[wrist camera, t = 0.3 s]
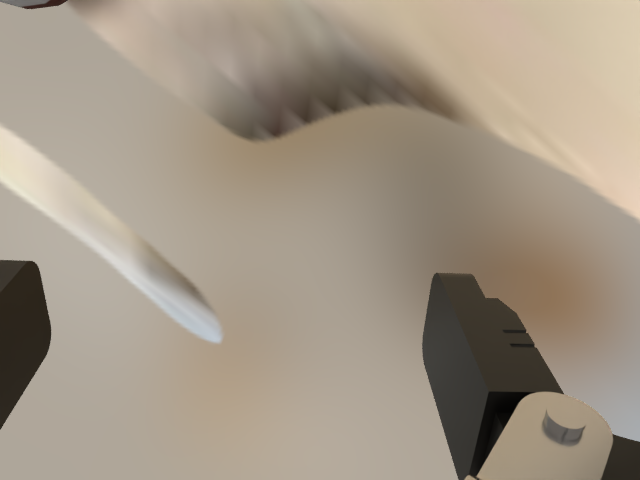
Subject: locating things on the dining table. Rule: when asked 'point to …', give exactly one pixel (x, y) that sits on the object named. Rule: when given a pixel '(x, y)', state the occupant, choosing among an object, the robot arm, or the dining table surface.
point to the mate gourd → (34, 3)
